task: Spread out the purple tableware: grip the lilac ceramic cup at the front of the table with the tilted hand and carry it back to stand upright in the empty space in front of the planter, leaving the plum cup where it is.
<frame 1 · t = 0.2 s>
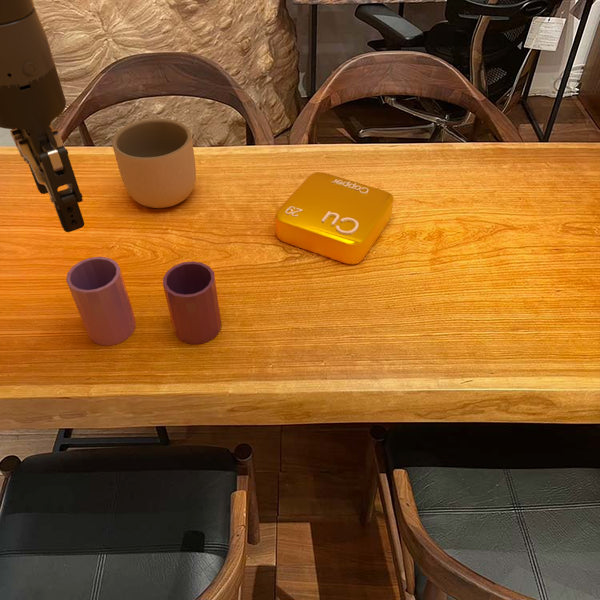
hand: (61, 208, 65), 20 cm above the table, tool pointing down, fingers open, 8 cm apart
planter: (163, 195, 101), on the table
plum cup: (197, 326, 80), on the table
element tile: (334, 227, 95), on the table
lilac cup: (111, 327, 80), on the table
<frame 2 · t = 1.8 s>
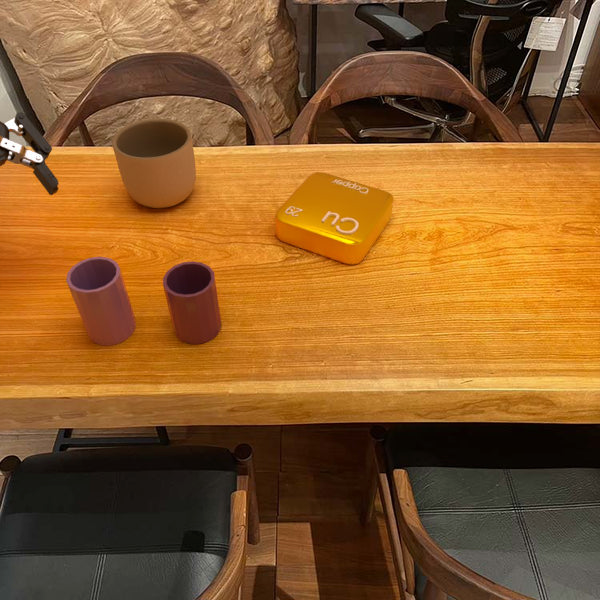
hand: (26, 207, 74), 15 cm above the table, tool tilted 45°, fingers open, 8 cm apart
nothing on the table moved.
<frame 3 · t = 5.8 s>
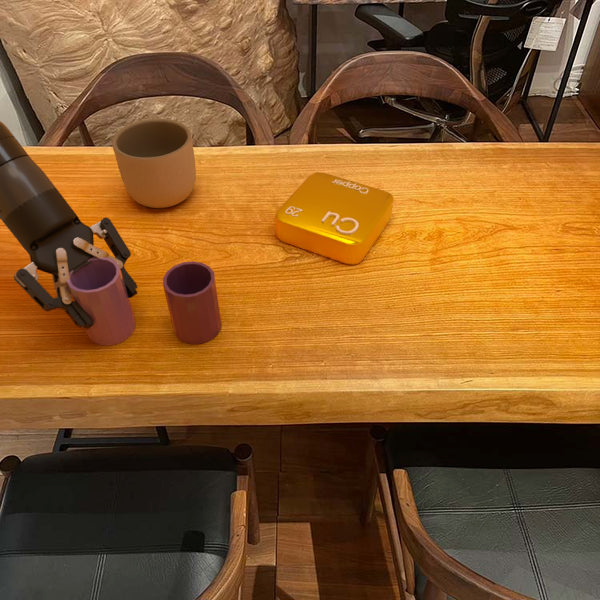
hand: (112, 310, 76), 4 cm above the table, tool tilted 45°, fingers closed on lilac cup, 6 cm apart
lilac cup: (111, 327, 80), on the table, touching gripper
everything else where it was.
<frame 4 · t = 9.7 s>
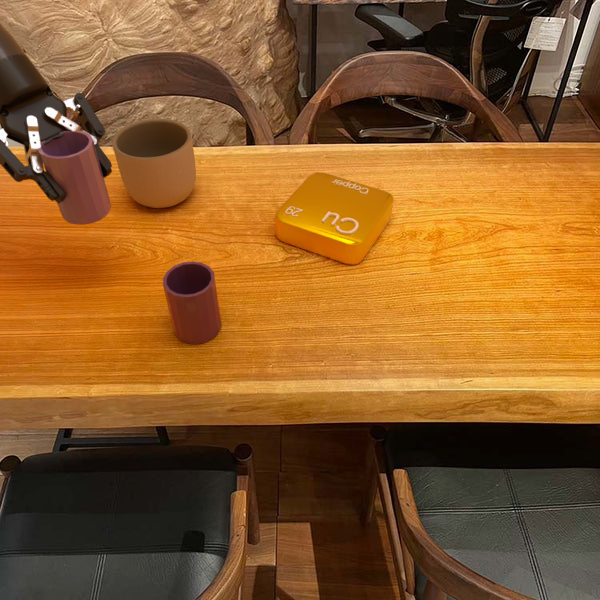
hand: (85, 186, 74), 16 cm above the table, tool tilted 45°, fingers closed on lilac cup, 6 cm apart
lilac cup: (86, 209, 78), point 12 cm above the table, touching gripper
everything else where it was.
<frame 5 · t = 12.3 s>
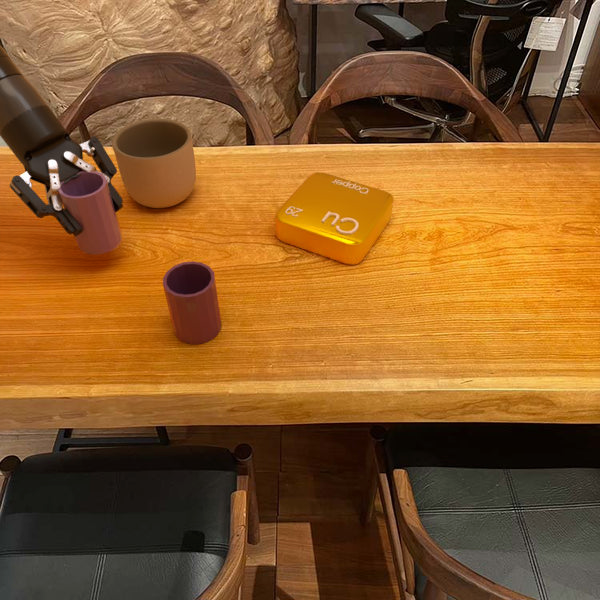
hand: (99, 221, 83), 8 cm above the table, tool tilted 45°, fingers closed on lilac cup, 6 cm apart
lilac cup: (99, 240, 87), point 4 cm above the table, touching gripper
everything else where it was.
when the fingers open (4 cm above the table, at t = 14.0 s): lilac cup stays where it is, on the table.
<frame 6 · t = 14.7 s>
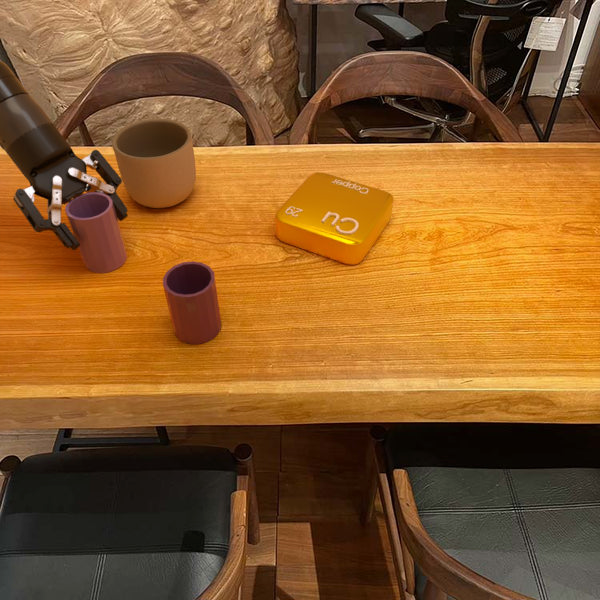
hand: (101, 232, 85), 6 cm above the table, tool tilted 45°, fingers open, 8 cm apart
lilac cup: (105, 258, 89), on the table
everything else where it was.
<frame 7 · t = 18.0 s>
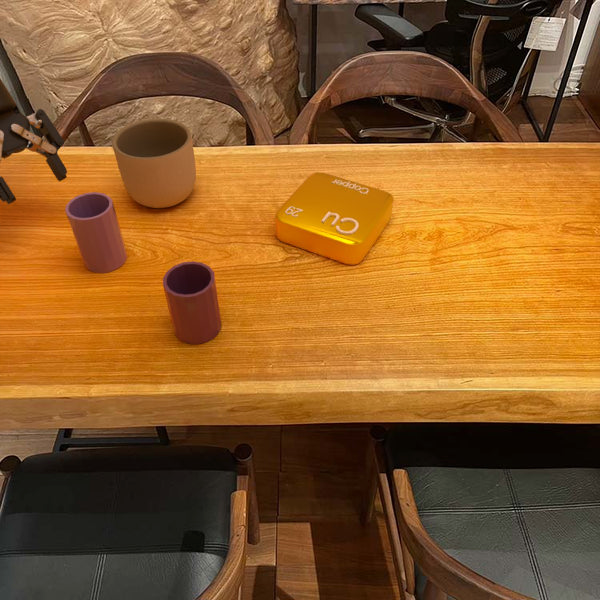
hand: (38, 190, 88), 8 cm above the table, tool tilted 40°, fingers open, 8 cm apart
nothing on the table moved.
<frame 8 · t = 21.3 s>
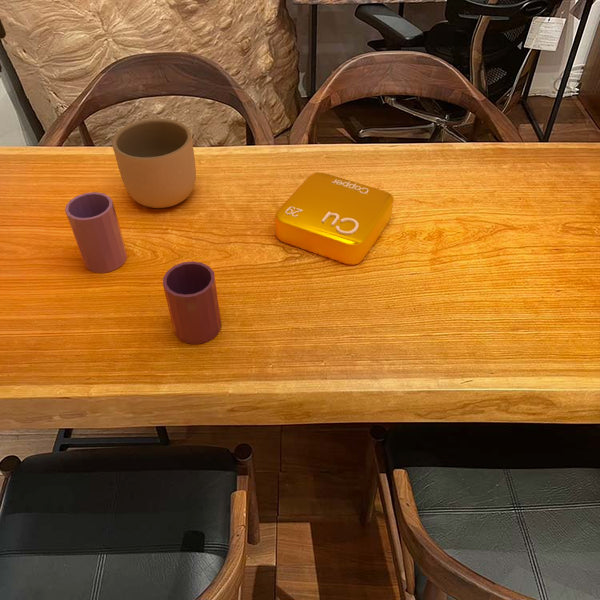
nothing on the table moved.
at the end: lilac cup inside the target area on the table beside the planter (0.0 cm from its centre), on the table; lilac cup tilted 0°; plum cup moved 0.0 cm from its start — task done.
